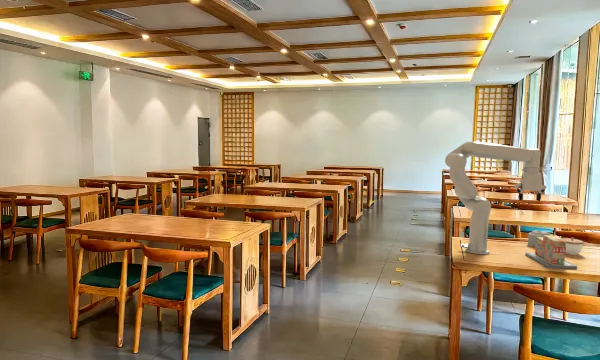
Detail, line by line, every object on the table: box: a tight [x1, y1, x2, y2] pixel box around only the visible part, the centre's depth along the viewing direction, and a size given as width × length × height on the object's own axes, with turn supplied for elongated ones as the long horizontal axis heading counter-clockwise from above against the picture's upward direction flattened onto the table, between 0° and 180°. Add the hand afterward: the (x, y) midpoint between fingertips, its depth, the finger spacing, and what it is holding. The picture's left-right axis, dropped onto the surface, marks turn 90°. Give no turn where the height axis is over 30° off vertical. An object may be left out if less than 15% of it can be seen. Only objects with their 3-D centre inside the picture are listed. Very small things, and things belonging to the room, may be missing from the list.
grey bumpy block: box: [527, 229, 554, 248], centre depth 257 cm, size 10×13×9 cm
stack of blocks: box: [534, 235, 567, 265], centre depth 221 cm, size 21×6×12 cm, turn 171°
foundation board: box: [524, 252, 578, 270], centre depth 221 cm, size 14×24×2 cm, turn 177°
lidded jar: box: [562, 237, 584, 256], centre depth 238 cm, size 11×11×9 cm
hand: (529, 200), depth 236 cm, fingers open, 9 cm apart
